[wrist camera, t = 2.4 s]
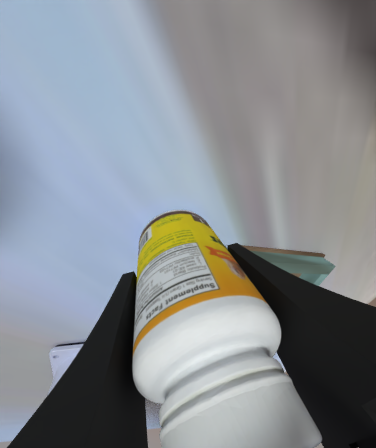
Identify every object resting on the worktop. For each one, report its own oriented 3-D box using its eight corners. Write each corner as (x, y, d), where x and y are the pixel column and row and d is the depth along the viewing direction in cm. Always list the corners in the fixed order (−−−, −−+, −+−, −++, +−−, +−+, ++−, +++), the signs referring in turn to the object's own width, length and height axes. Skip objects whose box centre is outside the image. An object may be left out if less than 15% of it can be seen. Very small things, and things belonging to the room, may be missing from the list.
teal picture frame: (272, 317, 23) (281, 330, 22) (199, 324, 19) (204, 340, 18) (323, 253, 18) (339, 264, 17) (238, 245, 14) (249, 258, 13)
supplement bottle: (214, 251, 14) (327, 437, 5) (155, 274, 14) (174, 515, 5) (200, 194, 11) (405, 405, 2) (125, 221, 11) (43, 588, 2)
